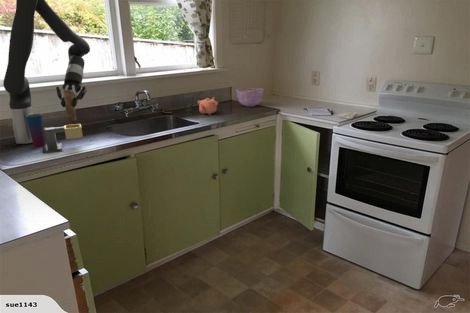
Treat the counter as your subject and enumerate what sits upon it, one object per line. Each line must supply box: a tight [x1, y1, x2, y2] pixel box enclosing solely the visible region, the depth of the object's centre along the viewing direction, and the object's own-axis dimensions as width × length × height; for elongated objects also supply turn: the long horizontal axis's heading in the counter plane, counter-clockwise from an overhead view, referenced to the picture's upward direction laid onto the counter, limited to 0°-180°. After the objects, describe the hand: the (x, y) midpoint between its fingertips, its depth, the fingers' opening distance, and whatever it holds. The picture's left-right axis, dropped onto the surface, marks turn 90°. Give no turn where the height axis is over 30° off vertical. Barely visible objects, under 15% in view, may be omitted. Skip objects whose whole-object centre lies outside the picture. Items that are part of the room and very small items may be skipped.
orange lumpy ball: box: [197, 96, 219, 116], centre depth 247 cm, size 14×12×10 cm
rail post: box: [62, 89, 78, 122], centre depth 175 cm, size 4×4×14 cm
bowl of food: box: [235, 87, 265, 108], centre depth 271 cm, size 20×20×12 cm
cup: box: [26, 113, 46, 148], centre depth 180 cm, size 7×7×15 cm
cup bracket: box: [42, 123, 84, 154], centre depth 177 cm, size 18×10×10 cm, turn 113°
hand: (68, 106), depth 173 cm, fingers closed on rail post, 4 cm apart
